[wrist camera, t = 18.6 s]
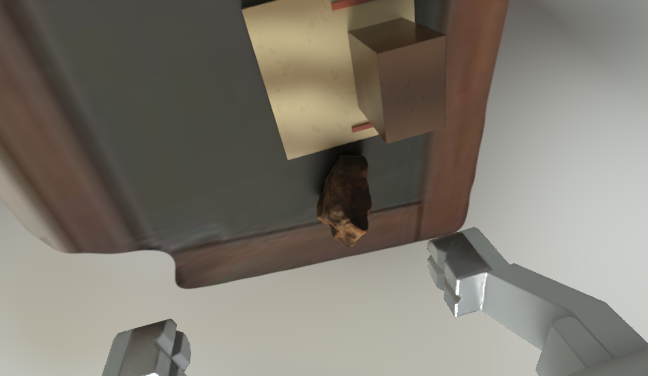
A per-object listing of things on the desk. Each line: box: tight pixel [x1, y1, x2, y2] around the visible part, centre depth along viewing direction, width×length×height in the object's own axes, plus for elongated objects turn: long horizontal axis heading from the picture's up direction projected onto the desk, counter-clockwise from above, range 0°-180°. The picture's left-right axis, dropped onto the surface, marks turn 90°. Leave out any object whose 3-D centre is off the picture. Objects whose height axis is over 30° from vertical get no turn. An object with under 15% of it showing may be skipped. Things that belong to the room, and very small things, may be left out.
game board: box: [242, 0, 415, 160], centre depth 44 cm, size 20×20×1 cm
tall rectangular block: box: [348, 17, 446, 144], centre depth 40 cm, size 10×7×11 cm
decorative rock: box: [317, 155, 372, 247], centre depth 50 cm, size 12×6×11 cm, turn 159°
